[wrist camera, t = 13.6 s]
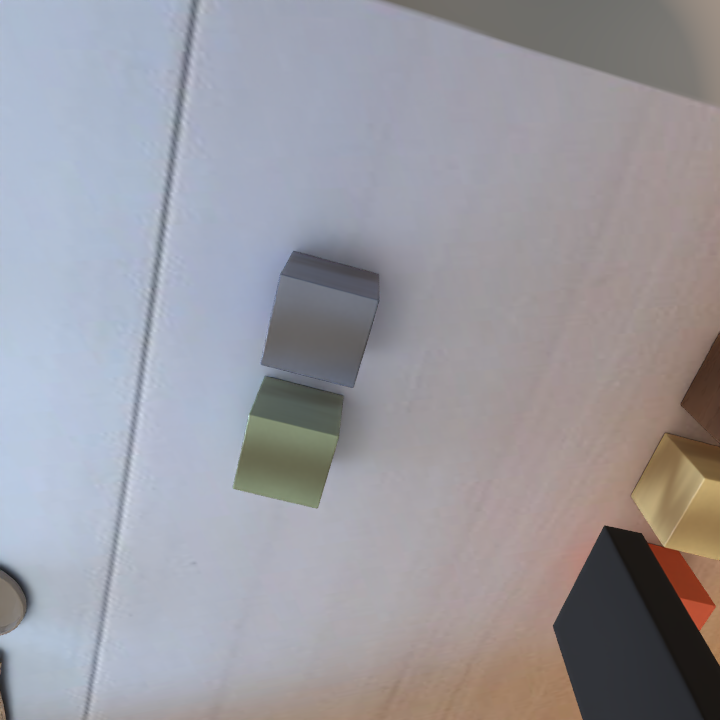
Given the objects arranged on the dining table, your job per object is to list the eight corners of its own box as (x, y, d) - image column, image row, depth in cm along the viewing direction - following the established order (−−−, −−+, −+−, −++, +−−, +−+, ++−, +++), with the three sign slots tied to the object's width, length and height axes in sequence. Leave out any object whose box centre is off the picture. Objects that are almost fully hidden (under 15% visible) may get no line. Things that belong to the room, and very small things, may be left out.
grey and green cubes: (293, 250, 34) (280, 273, 29) (379, 273, 34) (379, 300, 30) (249, 443, 39) (232, 489, 34) (324, 461, 39) (317, 509, 34)
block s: (610, 533, 41) (640, 588, 36) (678, 550, 41) (716, 606, 37) (581, 588, 43) (605, 646, 38) (646, 603, 43) (678, 663, 39)
